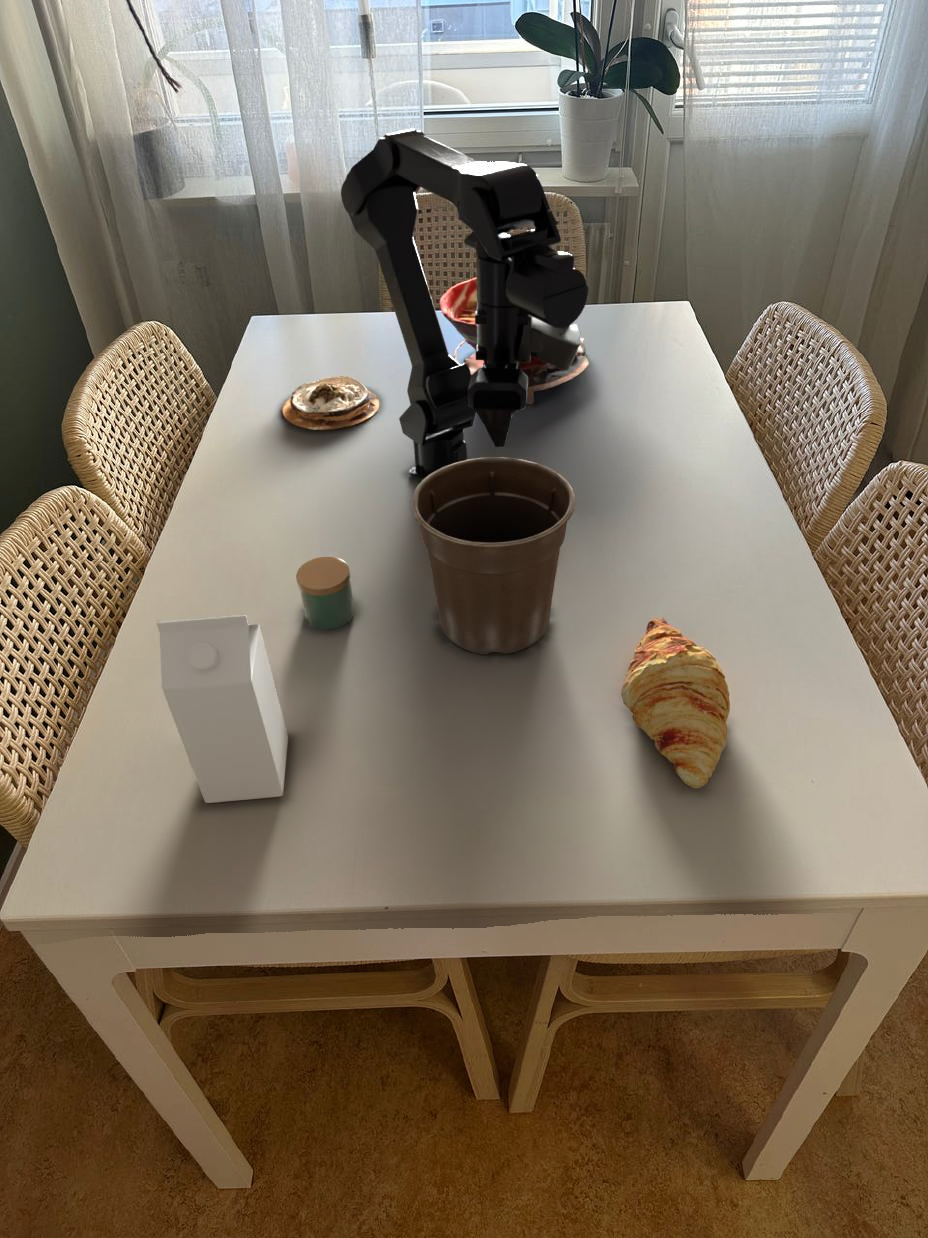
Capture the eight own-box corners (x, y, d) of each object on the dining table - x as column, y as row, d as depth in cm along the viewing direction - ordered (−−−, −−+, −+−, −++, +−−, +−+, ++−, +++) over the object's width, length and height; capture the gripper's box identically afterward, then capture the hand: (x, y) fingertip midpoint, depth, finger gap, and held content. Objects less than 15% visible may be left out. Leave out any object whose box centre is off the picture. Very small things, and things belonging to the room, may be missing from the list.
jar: (294, 620, 98) (285, 579, 95) (325, 591, 102) (317, 550, 98) (335, 636, 96) (327, 595, 92) (365, 606, 100) (359, 565, 96)
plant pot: (477, 558, 106) (473, 440, 95) (594, 604, 99) (604, 482, 88) (393, 633, 96) (378, 511, 86) (516, 691, 89) (517, 565, 78)
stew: (457, 329, 158) (453, 236, 147) (591, 332, 154) (597, 237, 144) (431, 402, 137) (424, 300, 126) (585, 407, 134) (592, 303, 123)
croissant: (722, 818, 80) (779, 769, 76) (630, 792, 77) (684, 739, 72) (673, 656, 96) (718, 607, 91) (596, 629, 93) (637, 576, 88)
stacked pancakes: (370, 379, 143) (368, 355, 141) (386, 422, 132) (383, 397, 130) (280, 392, 141) (276, 368, 138) (288, 437, 130) (284, 411, 127)
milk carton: (215, 745, 85) (164, 594, 72) (288, 738, 85) (250, 587, 73) (205, 804, 79) (147, 653, 67) (283, 797, 80) (241, 645, 67)
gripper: (578, 335, 86) (569, 471, 96) (579, 265, 100) (571, 391, 110) (465, 333, 87) (469, 467, 98) (482, 264, 101) (483, 389, 111)
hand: (502, 426), depth 104 cm, fingers open, 9 cm apart
